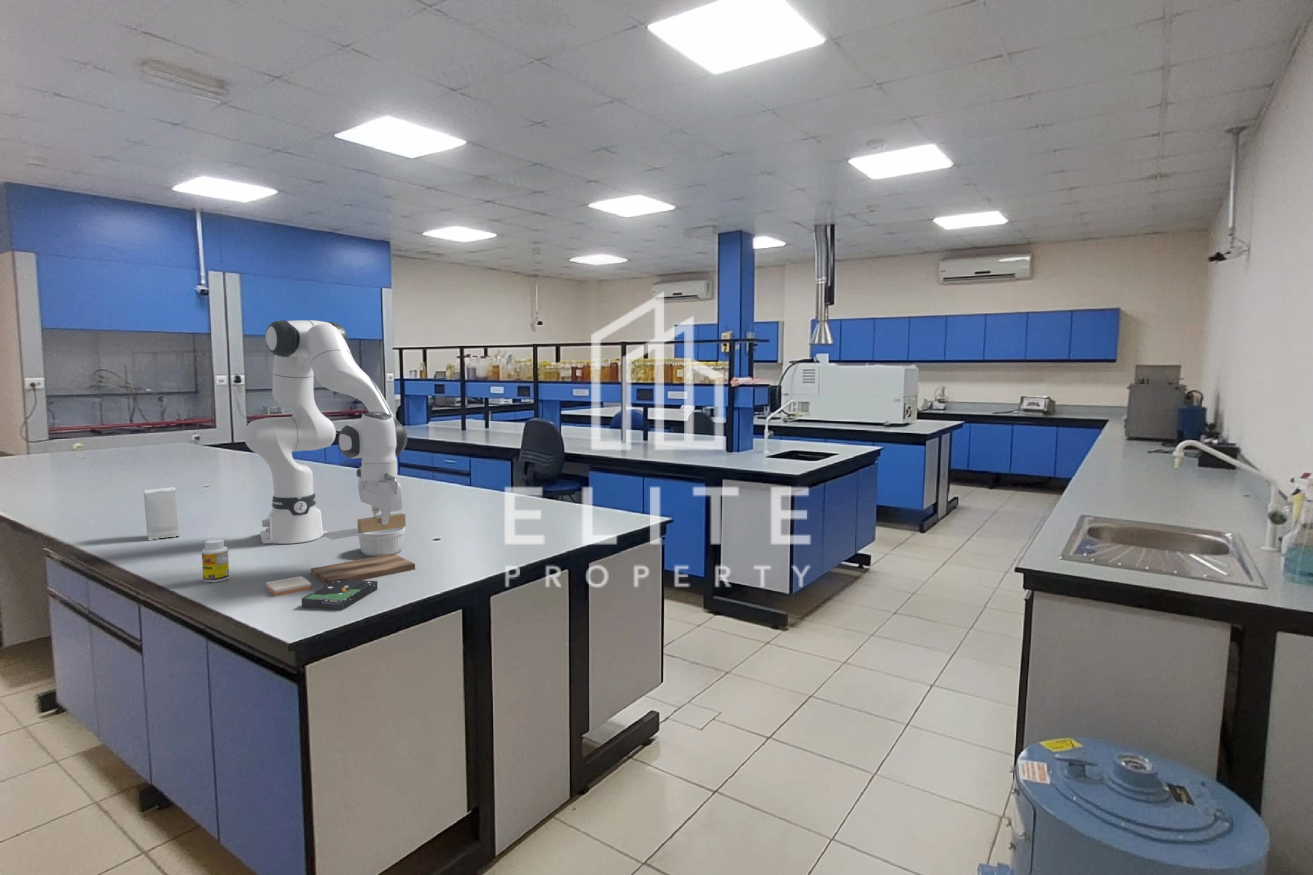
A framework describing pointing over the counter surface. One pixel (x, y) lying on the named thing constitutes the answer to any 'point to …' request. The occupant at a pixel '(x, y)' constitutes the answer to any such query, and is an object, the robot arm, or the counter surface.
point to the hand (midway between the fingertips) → (381, 522)
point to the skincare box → (161, 513)
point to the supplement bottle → (215, 561)
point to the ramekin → (382, 542)
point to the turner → (369, 526)
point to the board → (363, 568)
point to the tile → (288, 586)
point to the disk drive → (339, 594)
